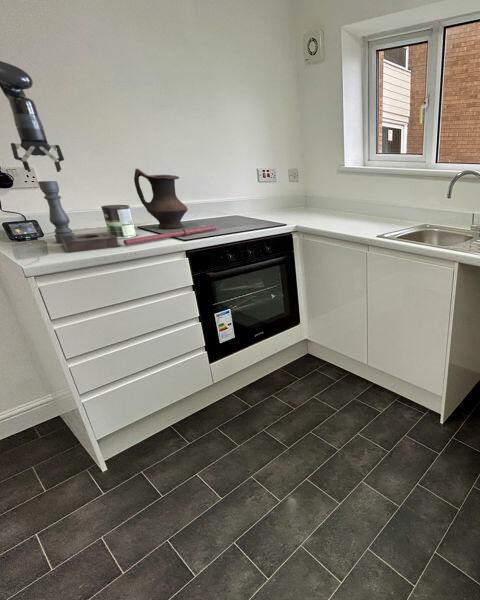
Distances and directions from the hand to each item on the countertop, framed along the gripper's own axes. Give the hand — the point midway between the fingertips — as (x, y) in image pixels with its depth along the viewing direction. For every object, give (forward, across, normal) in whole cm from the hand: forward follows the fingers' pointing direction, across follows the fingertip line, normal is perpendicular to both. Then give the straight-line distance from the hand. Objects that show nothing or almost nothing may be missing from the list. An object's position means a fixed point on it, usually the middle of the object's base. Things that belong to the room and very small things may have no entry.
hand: (44, 171), depth 142 cm
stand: (+29, -6, +16) cm, 33 cm away
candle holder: (+29, 0, 0) cm, 29 cm away
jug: (+29, -43, -13) cm, 53 cm away
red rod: (+29, -37, +17) cm, 50 cm away
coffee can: (+29, -20, +1) cm, 35 cm away
